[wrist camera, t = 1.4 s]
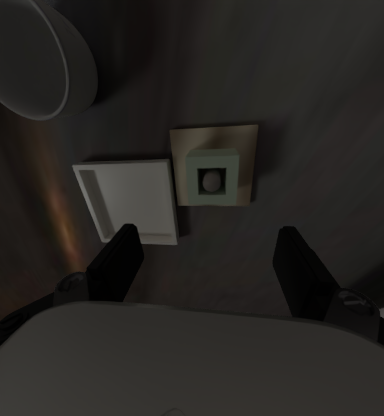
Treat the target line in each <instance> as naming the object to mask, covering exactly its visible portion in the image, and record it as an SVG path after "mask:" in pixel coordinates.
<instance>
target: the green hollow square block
mask: <svg viewBox="0 0 384 416" xmlns="http://www.w3.org/2000/svg"><path fill="white" fill-rule="evenodd" d="M239 156H240V155H239V154H238V152H237V150H236V149H235V148H229V149H204V150H190V151H189V153H188V154H187V155H186V157H185V164H186V176H187V189H188V202H189V204H198V205H236V198H237V184H238V170H239ZM201 168H225V172H224V182H221V185H220V187H219V189H218V190H216V191H213V192H210V191H207V190H206V189H205V188H204V186H203V182H201Z"/></svg>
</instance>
